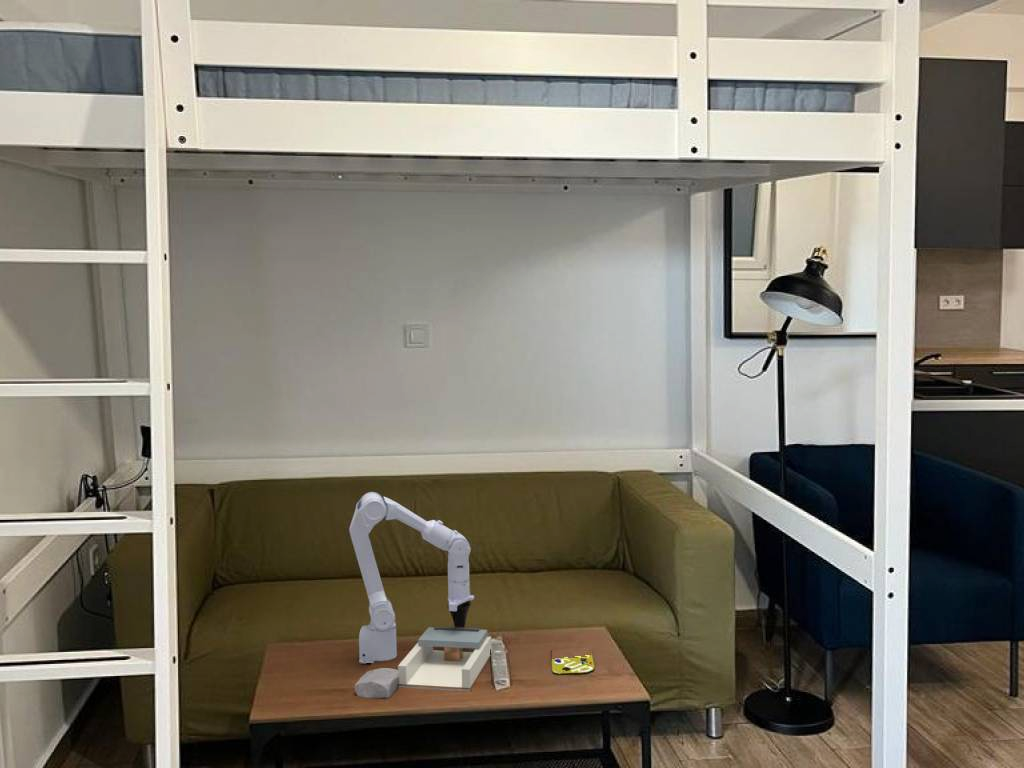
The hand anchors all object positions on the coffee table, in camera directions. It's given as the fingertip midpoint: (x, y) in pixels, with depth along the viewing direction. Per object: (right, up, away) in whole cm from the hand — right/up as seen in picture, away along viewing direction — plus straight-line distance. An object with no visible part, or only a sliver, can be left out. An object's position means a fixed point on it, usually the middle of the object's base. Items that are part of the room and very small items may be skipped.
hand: (459, 629), depth 270 cm
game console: (+30, -7, -8) cm, 32 cm away
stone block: (-19, -9, -23) cm, 31 cm away
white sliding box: (-3, -8, -13) cm, 16 cm away
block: (-1, -6, -7) cm, 9 cm away
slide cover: (-1, -1, -7) cm, 7 cm away
